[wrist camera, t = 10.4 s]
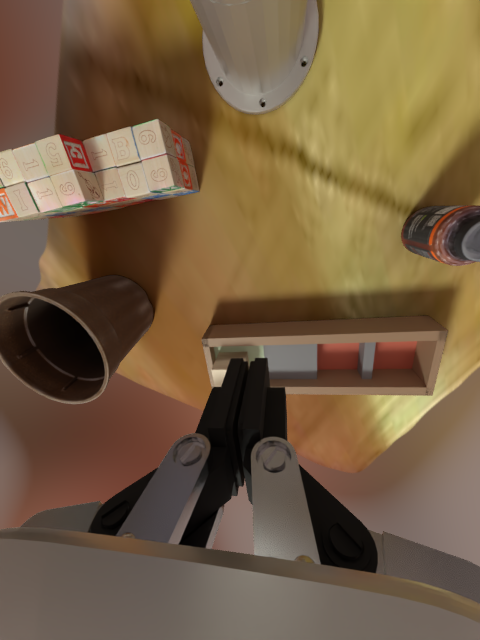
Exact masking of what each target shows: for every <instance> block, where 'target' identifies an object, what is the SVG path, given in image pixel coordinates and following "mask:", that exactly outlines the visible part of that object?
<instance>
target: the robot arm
mask: <svg viewBox="0 0 480 640" xmlns="http://www.w3.org/2000/svg"><path fill="white" fill-rule="evenodd" d="M190 1H191V3H192V6H193V8H194V10H195V12H196V14H197V17H198V19H199V21H200V23H201V25H202V28H203V36H202V42H203V55H204V60H205V65H206V69H207V71H208V74H209V77H210V79H211V81H212V83H213V85H214V87H215V89H216V90H217V92H218V93H219V95H220V96H221V98H222V99H224V100H225V101H226V102H227V103H228V104H229V105H230V106H231V107H233V108H235V109H236V110H238V111H241V112H243V113H246V114H256V115H257V114H264V113H268V112H270V111H273V110H276V109H277V108H279V107H280V106H282V105H283V104H285V103H286V102H287V101H288V100H289V99H290V98H291V97H292V96H294V94H295V93H296V92H297V90H298V89H299V88H300V86H301V85H302V84H303V82H304V80H305V78H306V76H307V74H308V72H309V70H310V67H311V64H312V62H313V59H314V54H315V50H316V46H317V39H318V32H319V14H318V7H317V0H190ZM302 63H305V64H306V66H305V67H302ZM221 82H222V83H223V85H222V86H221V87H220V83H221ZM262 103H265V107H261V104H262ZM244 479H245V481H246V486H247V493H248V497H249V501H250V502H251V504H252V505H253V530H254V555H250V554H243V553H236V552H229V551H221V550H214V549H212V546H213V543H214V540H215V536H216V534H217V531H218V527H219V524H220V521H221V518H222V515H223V512H224V504H225V503H226V502H228V501H229V500H230V499H231V496H237V494H238V488H239V486H243V485H244ZM0 640H480V567H479V566H477V565H475V564H473V563H472V562H470V561H467V560H464V559H461V558H459V557H456V556H453V555H450V554H447V553H444V552H441V551H438V550H436V549H433V548H430V547H427V546H424V545H421V544H418V543H415V542H413V541H410V540H407V539H404V538H401V537H398V536H395V535H392V534H389V533H387V532H384V531H383V534H382V535H381V534H379V533H376V532H373V531H370V530H368V529H367V528H366V527H365V526H364V525H363V524H362V522H361V521H360V520H358V519H357V518H356V517H355V516H354V515H353V514H352V513H351V512H350V511H349V510H348V509H347V508H346V507H344V506H343V505H342V504H341V503H340V502H339V501H338V500H337V499H336V498H335V497H334V496H332V495H331V494H330V493H329V492H328V491H327V490H326V489H325V488H324V487H323V486H322V485H321V484H320V483H319V482H317V481H316V480H315V479H314V478H313V477H312V476H311V475H310V474H309V473H308V472H307V471H306V470H304V469H303V468H302V467H301V466H300V465H299V464H298V460H297V456H296V452H295V450H294V448H293V446H292V445H291V444H290V443H289V442H288V441H287V410H286V392H285V387H270V378H269V367H268V358H255V361H251V362H250V367H249V366H248V361H244V360H243V358H231V359H230V362H229V365H228V368H227V371H226V374H225V377H224V380H223V383H222V385H221V387H213V389H212V391H211V393H210V396H209V398H208V401H207V404H206V406H205V409H204V411H203V414H202V417H201V419H200V422H199V425H198V427H197V430H196V432H195V433H192V434H188V435H185V436H183V437H181V438H180V439H178V440H177V441H176V442H175V443H174V444H173V446H172V447H171V448H170V450H169V451H168V453H167V455H166V456H165V458H164V459H163V461H162V463H161V464H160V466H159V467H158V468H157V469H155V470H153V471H152V472H150V473H149V474H147V475H146V476H144V477H142V478H141V479H139V480H138V481H136V482H135V483H133V484H132V485H130V486H129V487H127V488H125V489H124V490H122V491H121V492H119V493H118V494H116V495H115V496H113V497H112V498H111V499H109V500H108V501H107V502H105V503H104V504H102V503H101V502H100V501H97V502H91V503H85V504H80V505H73V506H67V507H62V508H56V509H50V510H45V511H42V512H39V513H37V514H36V515H34V516H32V517H31V518H30V519H28V520H27V521H26V522H25V523H24V524H23V525H22V526H21V527H18V528H7V529H1V530H0Z"/></svg>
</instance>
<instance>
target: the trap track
mask: <svg viewBox="0 0 480 640" xmlns="http://www.w3.org/2000/svg"><path fill="white" fill-rule="evenodd" d="M447 333H448V330H447V329H445V328H444V327H443V326H442V325H440V324H439V323H438V322H436V321H435V320H434V319H432V318H431V317H430V316H406V317H383V318H361V319H339V320H317V321H294V322H272V323H250V324H227V325H210V326H209V327H208V329H207V331H206V332H205V334H204V336H203V337H202V344H203V348H204V353H205V358H206V363H207V367H208V372H209V377H210V382H211V386H212V389H213V387H215V385H214V380H213V376H212V371H211V369H212V367H213V365H214V362H215V360H216V358H217V355H218V353H219V352H248V359H249V366H250V362H251V361H255V358H268V367H269V378H270V387H285V392H286V394H334V395H433V391H434V387H435V383H436V379H437V374H438V370H439V366H440V362H441V358H442V354H443V350H444V346H445V341H446V337H447Z"/></svg>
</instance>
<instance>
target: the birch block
mask: <svg viewBox="0 0 480 640" xmlns="http://www.w3.org/2000/svg"><path fill="white" fill-rule="evenodd" d="M231 358H243V360H244V361H248V366H249V359H248V352H219V353H218V355H217V358H216V360H215V362H214V365H213V367H212V369H211V371H212V376H213V380H214V385H215V387H221V385H222V383H223V380H224V377H225V374H226V371H227V368H228V365H229V362H230V359H231ZM249 367H250V366H249Z"/></svg>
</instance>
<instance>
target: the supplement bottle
mask: <svg viewBox="0 0 480 640" xmlns="http://www.w3.org/2000/svg"><path fill="white" fill-rule="evenodd" d="M401 238H402V243H403V245H404V246H405V248H406V249H408V250H409V251H411V252H413V253H415V254H418V255H421V256H424V257H427V258H430V259H433V260H436V261H439V262H442V263H445V264H448V265H455V266H460V265H467V264H471V263H474V262H480V206H430V207H425V208H423V209H420V210H418V211H416V212H415V213H414V214H413V215H411V216H410V217H409V218H408V220H407V221H406V222H405V224H404V226H403V229H402V233H401Z"/></svg>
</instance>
